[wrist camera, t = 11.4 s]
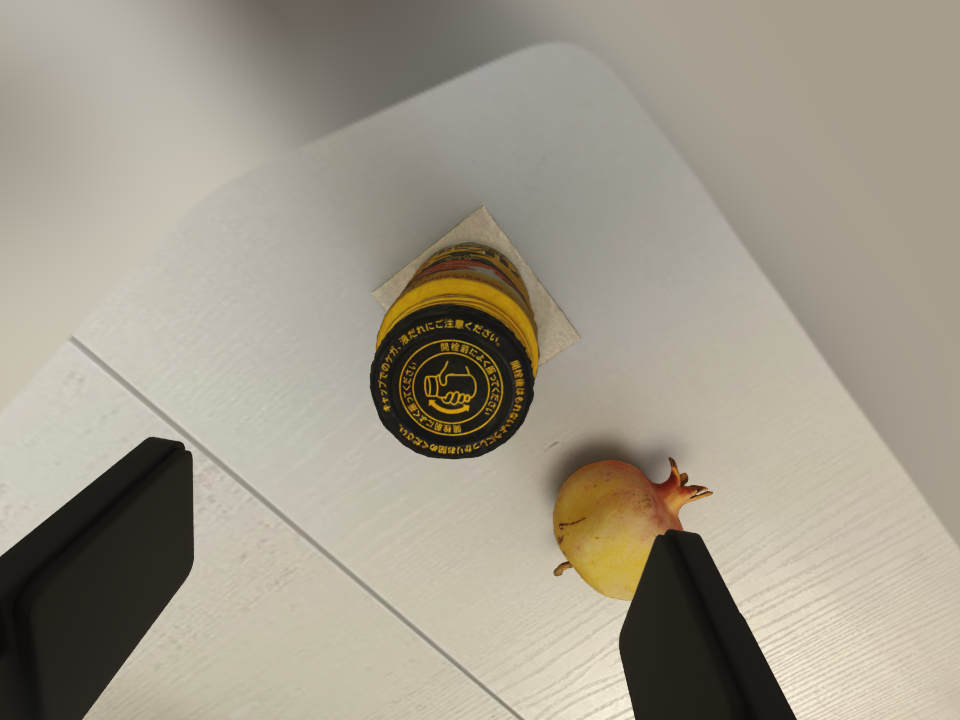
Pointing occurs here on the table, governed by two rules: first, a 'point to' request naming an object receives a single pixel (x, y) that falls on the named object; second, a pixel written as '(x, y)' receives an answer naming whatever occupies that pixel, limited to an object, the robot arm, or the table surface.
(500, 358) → the condiment
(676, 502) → the fruit
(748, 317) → the table surface
